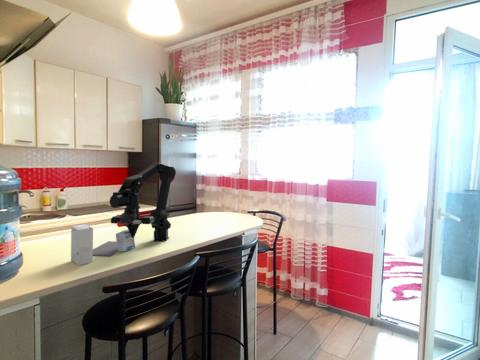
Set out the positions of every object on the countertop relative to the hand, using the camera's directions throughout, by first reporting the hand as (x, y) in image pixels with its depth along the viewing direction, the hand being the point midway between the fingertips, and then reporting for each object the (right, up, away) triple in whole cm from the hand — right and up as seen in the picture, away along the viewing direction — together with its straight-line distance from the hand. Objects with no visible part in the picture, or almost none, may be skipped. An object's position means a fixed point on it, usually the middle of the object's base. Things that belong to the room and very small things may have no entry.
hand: (133, 237), depth 134 cm
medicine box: (-3, -6, +1) cm, 7 cm away
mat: (-12, -6, +1) cm, 13 cm away
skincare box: (-15, -7, -15) cm, 23 cm away
